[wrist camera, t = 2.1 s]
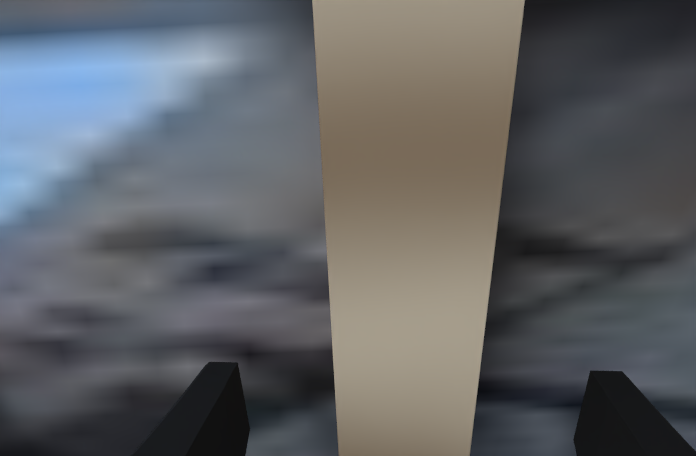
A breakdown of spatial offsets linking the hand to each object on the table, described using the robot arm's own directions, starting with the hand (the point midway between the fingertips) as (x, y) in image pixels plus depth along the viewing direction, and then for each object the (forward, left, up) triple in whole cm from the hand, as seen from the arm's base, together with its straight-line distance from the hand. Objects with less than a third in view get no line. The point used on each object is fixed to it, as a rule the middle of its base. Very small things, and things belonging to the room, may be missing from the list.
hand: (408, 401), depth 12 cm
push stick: (+6, 0, -4) cm, 7 cm away
